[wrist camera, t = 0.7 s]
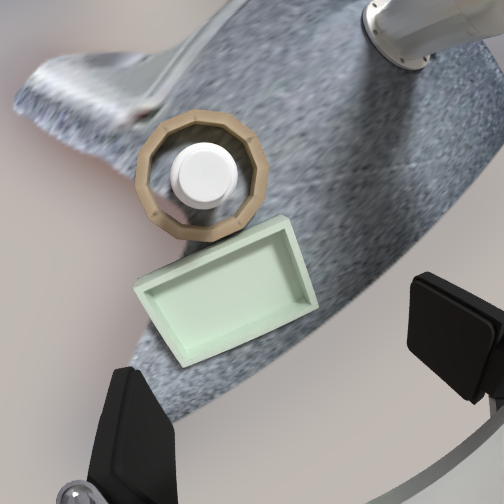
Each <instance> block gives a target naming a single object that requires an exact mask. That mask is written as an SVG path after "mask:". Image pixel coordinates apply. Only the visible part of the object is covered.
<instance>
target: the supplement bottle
mask: <svg viewBox="0 0 504 504" xmlns="http://www.w3.org/2000/svg"><path fill="white" fill-rule="evenodd" d="M237 178H238V172H237V167H236V164H235V161H234V159H233V158H232V156H231V155H230V154H229V153H228V152H227V151H226V150H225V149H224V148H222V147H220V146H218V145H216V144H212V143H197V144H193V145H191V146H189V147H187V148H185V149H184V150H183V151H181V152H180V153H179V154H178V156H177V157H176V158H175V160H174V162H173V164H172V167H171V172H170V182H171V186H172V189H173V191H174V193H175V195H176V196H177V197H178V199H179V200H180V201H182V202H183V203H184V204H186V205H187V206H189V207H192V208H196V209H211V208H214V207H217V206H219V205H221V204H222V203H224V202H225V201H226V200H227V199H228V198H229V197H230V196H231V195H232V193H233V191H234V189H235V187H236V184H237Z"/></svg>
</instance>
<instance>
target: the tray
mask: <svg viewBox="0 0 504 504" xmlns="http://www.w3.org/2000/svg"><path fill="white" fill-rule="evenodd" d="M133 289H134V291H135V293H136V295H137V296H138V298H139V300H140V301H141V303H142V305H143V307H144V308H145V310H146V312H147V313H148V315H149V317H150V318H151V320H152V321H153V323H154V325H155V326H156V328H157V329H158V331H159V333H160V334H161V336H162V337H163V339H164V340H165V342H166V343H167V345H168V346H169V348H170V349H171V351H172V352H173V354H174V355H175V357H176V358H177V360H178V361H179V363H180V364H181V366H182V367H183V368H184V367H187V366H189V365H192V364H195V363H197V362H200V361H202V360H205V359H207V358H210V357H212V356H214V355H217V354H219V353H222V352H224V351H227V350H229V349H231V348H234V347H236V346H238V345H241V344H243V343H245V342H247V341H250V340H252V339H254V338H256V337H259V336H261V335H263V334H265V333H267V332H270V331H272V330H274V329H276V328H278V327H280V326H283V325H285V324H287V323H289V322H291V321H293V320H295V319H297V318H299V317H301V316H303V315H305V314H307V313H309V312H311V311H313V310H315V309H317V308H319V305H318V302H317V299H316V296H315V293H314V290H313V287H312V284H311V281H310V278H309V275H308V272H307V269H306V266H305V263H304V260H303V257H302V254H301V251H300V248H299V246H298V243H297V240H296V237H295V234H294V231H293V229H292V226H291V223H290V220H289V218H287V217H285V216H283V215H281V214H280V215H278V216H275V217H273V218H271V219H269V220H266V221H264V222H262V223H259V224H257V225H255V226H253V227H250V228H248V229H246V230H243V231H241V232H239V233H237V234H234V235H232V236H230V237H228V238H225V239H223V240H221V241H219V242H216V243H214V244H212V245H210V246H208V247H205V248H203V249H201V250H199V251H196V252H194V253H192V254H190V255H188V256H186V257H183V258H181V259H179V260H177V261H175V262H172V263H170V264H168V265H166V266H164V267H162V268H159V269H157V270H155V271H153V272H151V273H149V274H147V275H145V276H142V277H140V278H138V279H137V281H136V283H135V285H134V288H133Z"/></svg>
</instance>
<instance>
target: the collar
mask: <svg viewBox="0 0 504 504" xmlns="http://www.w3.org/2000/svg"><path fill="white" fill-rule="evenodd" d="M194 124H198V125H207V126H215V127H222V128H223V129H225V130H226V131H227V132H229V133H230V134H231V135H233V136H234V137H235V138H237V139H238V140H239V141H241V142H242V143H243V144H244V147H245V149H246V152H247V154H248V157H249V159H250V161H251V164H252V166H253V173H252V180H251V187H250V194H249V196H248V197H247V198H246V200H245V201H244V202H243V204H242V205H241V206H240V207H239V209H238V210H237V211H236V213H235V214H234V215H233V216H232V217H229V218H227V219H225V220H222V221H220V222H218V223H216V224H213V225H211V226H209V227H207V226H196V225H185V224H181V223H180V222H178V221H177V220H175V219H174V218H172V217H171V216H170V215H168V214H167V213H165V212H164V211H163V210H161V209H160V207H159V205H158V203H157V201H156V198H155V196H154V194H153V192H152V189H151V187H150V185H149V183H150V174H151V165H152V158H153V156H154V155H155V153H156V152H157V150H158V149H159V148H160V146H161V145H162V144H163V143H164V141H165V140H166V139H167V137H168V136H169V135H170V134H173V133H175V132H177V131H180V130H182V129H184V128H187V127H189V126H191V125H194ZM255 135H256V134H255V133H254V132H253V131H251V130H250V129H249V128H247V127H246V126H245V125H244V124H242V123H241V122H240V121H238V120H237V119H236V118H234V117H233V116H232V115H230V114H229V113H222V112H215V111H207V110H198V109H194V110H190V111H188V112H185V113H183V114H180V115H178V116H176V117H173V118H171V119H169V120H166V121H164V122H162V123H161V124H159V126H158V127H157V128H156V129H155V131H154V132H153V133H152V135H151V136H150V137H149V139H148V140H147V141H146V143H145V144H144V145H143V147H142V148H141V149H140V151H139V152H140V153H138V160H137V169H136V177H135V187H136V188H135V190H136V192H137V194H138V197H139V199H140V201H141V203H142V206H143V208H144V210H145V212H146V214H147V217H148V218H149V220H151V221H152V222H153V223H155V224H156V225H158V226H159V227H161V228H162V229H163V230H165V231H166V232H168V233H169V234H170V235H172V236H173V237H175V238H176V239H177V238H178V239H181V240H192V241H203V242H211V241H212V242H213V241H216V240H218V239H220V238H222V237H224V236H227V235H229V234H231V233H233V232H236V231H238V230H240V229H243V228H244V227H245V225H246V224H247V223H248V221H249V220H250V219H251V217H252V216H253V215H254V214H255V212H256V211H257V210H258V208H259V207H260V206H261V204H262V203H263V202H264V201H263V200H265V193H266V186H267V179H268V172H269V165H268V162H267V159H266V157H265V154H264V152H263V149H262V147H261V144H260V142H259V139H258V137H257V135H256V136H255Z"/></svg>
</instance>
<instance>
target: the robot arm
mask: <svg viewBox="0 0 504 504" xmlns="http://www.w3.org/2000/svg"><path fill="white" fill-rule="evenodd" d="M363 23H364V26H365V29H366V32H367V34H368V36H369V38H370V39H371V41H372V43H373V44H374V45H375V47H376V48H377V49H378V50H379V51H380V52H381V53H382V55H383V56H384V57H386V58H387V59H388V60H389V61H390V62H392V63H393V64H395V65H396V66H398V67H401V68H403V69H406V70H418V69H421V68H423V67H425V66H426V65H427V64H428V62H429V60H430V55H431V54H434V53H437V52H440V51H443V50H446V49H450V48H453V47H456V46H460V45H463V44H467V43H471V42H475V41H479V40H483V39H486V38H491V37H495V36H499V35H501V34H503V33H504V0H372V1H371V2H370V3H368V4H367V5H366V6H365V8H364V11H363ZM407 346H408V348H409V350H410V351H411V352H412V353H413V354H414V355H415V356H416V357H417V358H419V359H420V360H421V361H422V362H423V363H424V364H425V365H427V366H428V367H429V368H430V369H431V370H432V371H433V372H435V374H437V375H438V376H439V377H440V378H441V379H442V380H443V381H445V382H446V383H447V384H448V385H449V386H450V387H451V388H452V389H453V390H454V391H456V392H457V393H458V394H459V395H460V396H461V397H462V398H463V399H465V400H467V401H468V400H469V401H470V402H471V403H472V404H474V405H475V404H476V403H477V402H478V401H480V400H481V399H482V398H483V397H484V395H485V392H486V393H487V394H488V395H489V405H490V416H491V418H490V419H489V420H488V421H487V422H486V423H484V424H483V425H482V426H481V427H480V428H479V429H478V430H477V431H476V432H474V433H473V434H472V435H471V436H469V437H468V438H467V439H466V440H465V441H463V442H462V443H461V444H460V445H458V446H457V447H456V448H455V449H453V450H452V451H451V452H449V453H448V454H447V455H445V456H444V457H443V458H441V459H440V460H438V461H437V462H436V463H434V464H433V465H431V466H430V467H428V468H427V469H426V470H424V471H422V472H421V473H419V474H418V475H416V476H414V477H413V478H411V479H410V480H408V481H406V482H405V483H403V484H401V485H399V486H398V487H396V488H394V489H392V490H390V491H389V492H387V493H385V494H383V495H381V496H379V497H377V498H375V499H373V500H371V501H369V502H367V503H365V504H504V311H503V310H501V309H499V308H497V307H495V306H494V305H491V304H490V303H488V302H486V301H484V300H483V299H481V298H479V297H477V296H475V295H473V294H471V293H469V292H467V291H466V290H464V289H462V288H460V287H458V286H456V285H454V284H452V283H450V282H448V281H446V280H444V279H442V278H440V277H438V276H436V275H434V274H432V273H430V272H424V273H422V274H420V275H418V276H415V277H414V278H413V281H412V283H411V286H410V306H409V323H408V335H407ZM56 504H178V496H177V481H176V462H175V432H174V428H173V425H172V423H171V422H170V420H169V418H168V417H167V415H166V414H165V412H164V411H163V409H162V407H161V406H160V404H159V402H158V401H157V399H156V397H155V396H154V394H153V392H152V391H151V389H150V387H149V385H148V384H147V382H146V380H145V378H144V377H143V375H142V373H141V371H140V370H135V369H134V368H133V367H131V366H130V367H125V368H119V369H115V370H114V372H113V375H112V378H111V382H110V386H109V389H108V393H107V396H106V400H105V404H104V408H103V411H102V414H101V416H100V420H99V424H98V428H97V432H96V437H95V441H94V446H93V450H92V455H91V460H90V465H89V470H88V476H87V481H84V480H75V481H71V482H69V483H67V484H66V485H64V486H63V487H62V488H61V490H60V491H59V493H58V495H57V499H56Z"/></svg>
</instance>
